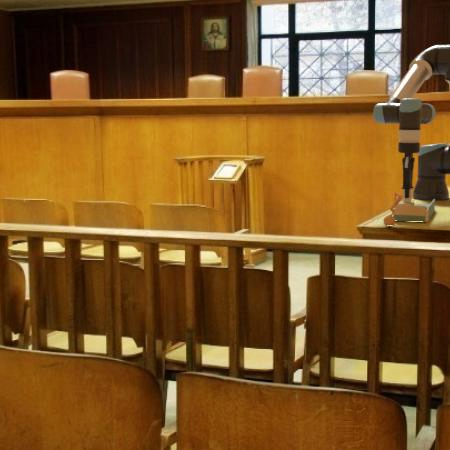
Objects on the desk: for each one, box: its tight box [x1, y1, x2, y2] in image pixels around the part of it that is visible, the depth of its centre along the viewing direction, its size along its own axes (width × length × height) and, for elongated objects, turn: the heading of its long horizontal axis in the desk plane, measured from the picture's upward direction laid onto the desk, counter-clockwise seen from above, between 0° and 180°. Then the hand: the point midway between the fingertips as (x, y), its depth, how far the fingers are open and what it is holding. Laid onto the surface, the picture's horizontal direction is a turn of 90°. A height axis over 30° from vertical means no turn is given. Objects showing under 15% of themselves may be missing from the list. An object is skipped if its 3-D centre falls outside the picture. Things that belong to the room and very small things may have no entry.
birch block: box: [398, 201, 415, 205], centre depth 281 cm, size 5×5×3 cm
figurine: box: [383, 191, 403, 226], centre depth 262 cm, size 8×6×12 cm
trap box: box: [392, 199, 436, 223], centre depth 286 cm, size 30×12×6 cm, turn 160°
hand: (406, 206), depth 284 cm, fingers closed
